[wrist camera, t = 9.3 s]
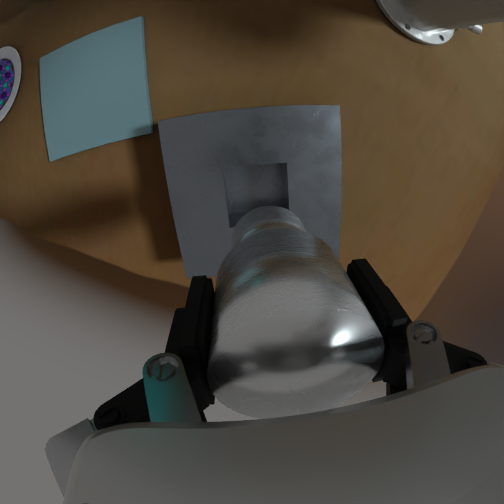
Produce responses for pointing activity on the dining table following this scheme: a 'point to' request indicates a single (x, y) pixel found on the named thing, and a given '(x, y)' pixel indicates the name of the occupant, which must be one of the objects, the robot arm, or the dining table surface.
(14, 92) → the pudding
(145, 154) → the dining table surface
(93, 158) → the dining table surface
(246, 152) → the housing
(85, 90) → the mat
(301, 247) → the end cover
